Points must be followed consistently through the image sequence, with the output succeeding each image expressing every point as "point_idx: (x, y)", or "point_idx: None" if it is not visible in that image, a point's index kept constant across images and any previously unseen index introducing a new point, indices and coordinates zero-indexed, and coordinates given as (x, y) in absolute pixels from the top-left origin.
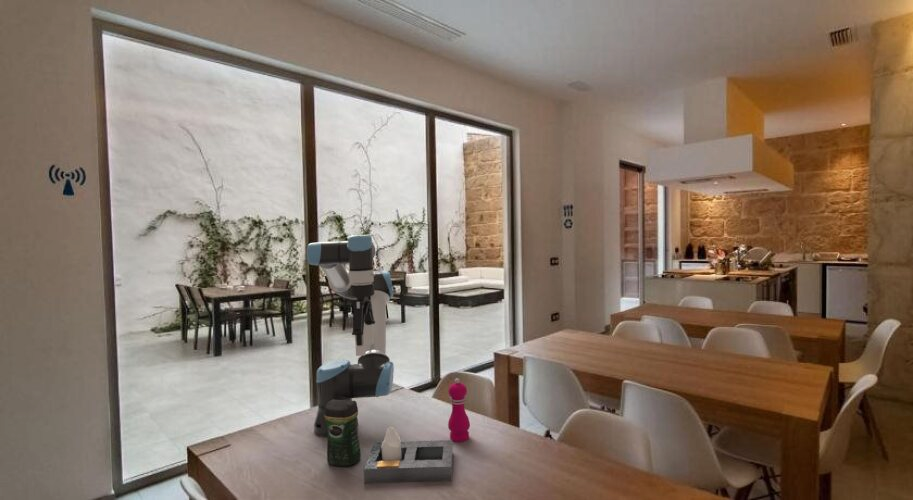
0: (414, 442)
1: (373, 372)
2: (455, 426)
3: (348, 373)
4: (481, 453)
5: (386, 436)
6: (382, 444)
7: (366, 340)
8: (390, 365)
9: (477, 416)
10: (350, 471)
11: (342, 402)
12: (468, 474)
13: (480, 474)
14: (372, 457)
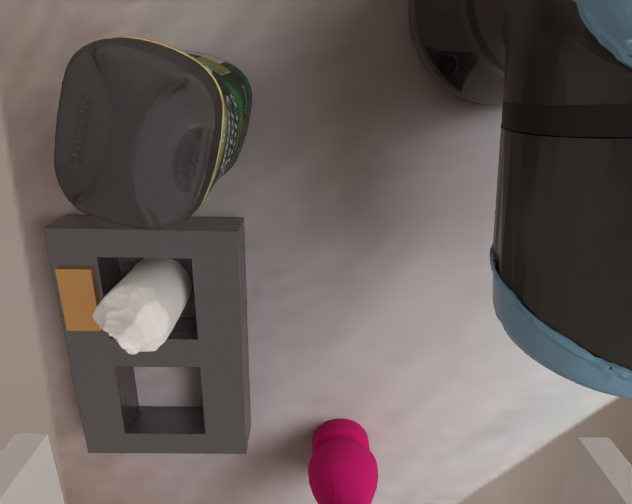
0: (232, 357)
1: (563, 282)
2: (311, 471)
3: (593, 98)
4: (244, 485)
5: (99, 325)
6: (116, 293)
7: (604, 499)
8: (613, 394)
9: (481, 483)
10: None
11: (102, 161)
12: (137, 457)
13: (139, 480)
14: (124, 242)
